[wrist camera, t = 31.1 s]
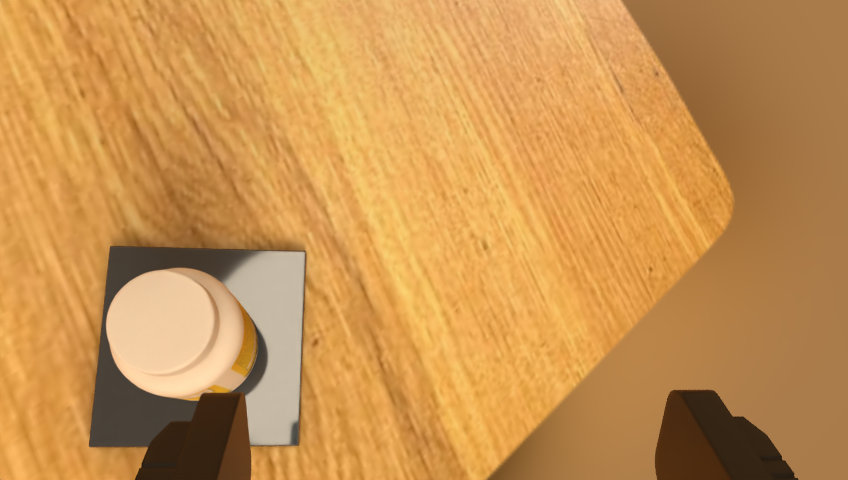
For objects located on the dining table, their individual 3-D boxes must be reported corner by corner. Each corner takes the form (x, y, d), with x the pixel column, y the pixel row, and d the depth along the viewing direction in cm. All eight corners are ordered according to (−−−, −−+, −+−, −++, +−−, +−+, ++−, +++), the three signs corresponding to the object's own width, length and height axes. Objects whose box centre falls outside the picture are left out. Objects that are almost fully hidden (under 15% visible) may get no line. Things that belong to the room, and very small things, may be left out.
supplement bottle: (212, 272, 38) (174, 223, 28) (281, 350, 37) (265, 326, 28) (125, 343, 36) (55, 315, 27) (195, 425, 36) (148, 426, 26)
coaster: (306, 253, 39) (306, 250, 39) (299, 445, 37) (298, 445, 36) (112, 248, 38) (109, 245, 37) (92, 446, 35) (88, 447, 35)
